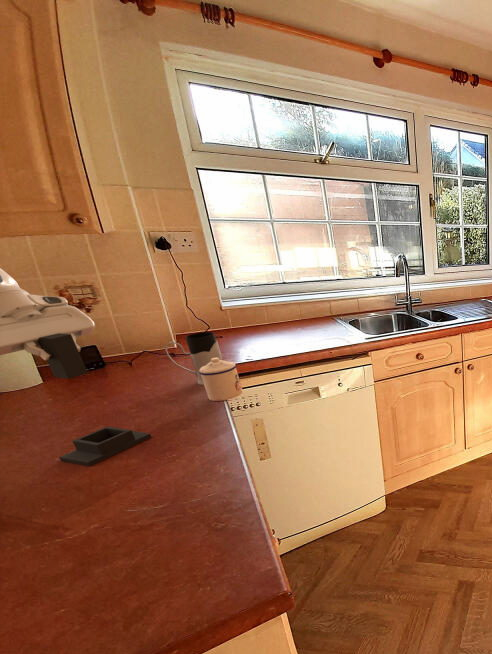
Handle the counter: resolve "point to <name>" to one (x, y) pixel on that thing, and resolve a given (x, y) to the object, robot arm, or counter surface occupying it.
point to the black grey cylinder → (200, 351)
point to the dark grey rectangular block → (63, 355)
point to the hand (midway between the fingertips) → (64, 354)
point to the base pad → (103, 445)
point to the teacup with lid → (221, 380)
